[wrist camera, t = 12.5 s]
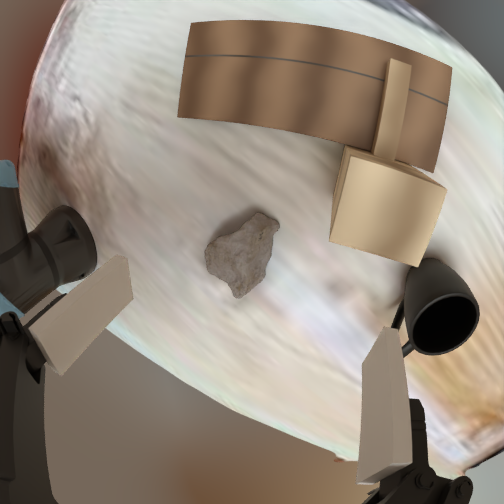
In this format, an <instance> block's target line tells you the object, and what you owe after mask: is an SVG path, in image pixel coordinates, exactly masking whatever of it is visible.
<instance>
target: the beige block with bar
mask: <svg viewBox="0 0 504 504" xmlns="http://www.w3.org/2000/svg"><path fill="white" fill-rule="evenodd" d="M411 67H412V65H409V64H406V63H403V62H400V61H398V60H395V59H390V60H389V61H388V62H387V67H386V74H385V81H384V88H383V94H382V100H381V106H380V111H379V116H378V122H377V127H376V132H375V136H374V141H373V146H372V150H371V151H368V150H365V149H361V148H358V147H354V146H350V145H347V144H345V147H344V152H343V156H342V161H341V165H340V170H339V174H338V178H337V183H336V187H335V191H334V195H333V204H332V216H331V227H330V237H329V242H333V243H337V244H340V245H344V246H347V247H351V248H354V249H358V250H361V251H365V252H368V253H372V254H375V255H379V256H382V257H385V258H389V259H392V260H395V261H399V262H402V263H405V264H409V265H412V266H415V267H418V266H419V264H420V262H421V260H422V257H423V255H424V253H425V250H426V248H427V245H428V243H429V240H430V238H431V235H432V233H433V230H434V228H435V225H436V222H437V219H438V217H439V214H440V211H441V208H442V205H443V202H444V199H445V196H446V192H447V189H446V188H444V187H443V186H442V185H440V184H439V183H437V182H436V181H434V180H433V179H431V178H430V177H428V176H427V175H425V174H423V173H422V172H420V171H419V170H417V169H416V168H414V167H412V166H411V165H409V164H407V163H405V162H402V161H399V160H396V159H395V156H396V152H397V148H398V143H399V139H400V134H401V129H402V124H403V119H404V114H405V108H406V102H407V96H408V90H409V83H410V76H411Z"/></svg>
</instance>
